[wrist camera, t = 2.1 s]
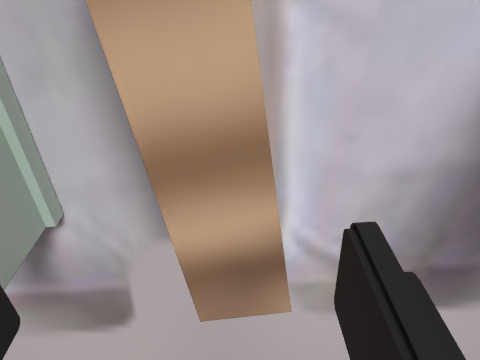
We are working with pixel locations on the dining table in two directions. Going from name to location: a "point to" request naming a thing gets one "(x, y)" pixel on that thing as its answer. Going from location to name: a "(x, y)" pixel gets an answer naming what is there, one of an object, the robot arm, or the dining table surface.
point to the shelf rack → (20, 186)
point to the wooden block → (202, 143)
